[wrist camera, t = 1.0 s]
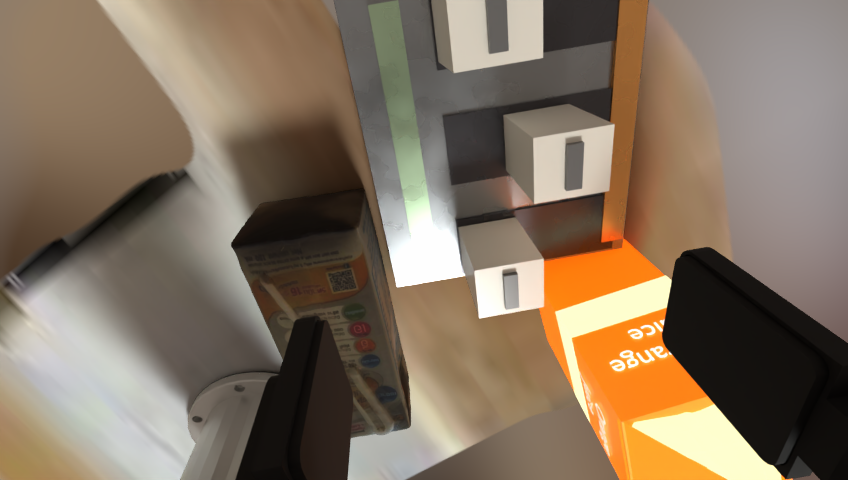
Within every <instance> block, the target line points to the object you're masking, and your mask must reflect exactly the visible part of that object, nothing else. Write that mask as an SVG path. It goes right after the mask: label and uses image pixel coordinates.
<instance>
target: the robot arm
mask: <svg viewBox="0 0 848 480" xmlns="http://www.w3.org/2000/svg"><path fill="white" fill-rule="evenodd" d="M662 340H663V343H664V345H665V347H666V348H667V350H668V351H669V352H670V353H671V354H672V355H673V357H674V358H675V359H676V360H677V361H678V362H679V364H680V365H681V366H682V367H683V368H684V369H685V371H686V372H687V373H688V374H689V375H690V376H691V378H692V379H693V380H694V381H695V382H696V383H697V385H698V386H699V387H700V388H701V389H702V390H703V392H704V393H705V394H706V395H707V396H708V397H709V399H710V400H711V401H712V402H713V403H714V404H715V406H716V407H717V408H718V409H719V410H720V411H721V413H722V414H723V415H724V416H725V417H726V418H727V420H728V421H729V422H730V423H731V424H732V425H733V427H734V428H735V429H736V430H737V431H738V432H739V434H740V435H741V436H742V437H743V438H744V439H745V441H746V442H747V443H748V444H749V445H750V446H751V448H752V449H753V450H754V451H755V452H756V453H757V455H758V456H759V457H760V458H761V459H762V460H763V461H764V462H765V463H767V464H769V465H773V466H774V467H775V468H776V469H777V471H778V472H779V473H780V474H781V475H782V476H783V477H784V479H785V480H788V479H793V478H798V477H804V476H810V475H811V473H812V471H813V472H814V473H815V475H816V476H817V477H818V478H819V479H820V480H848V343H847V342H845V341H844V340H842V339H841V338H840V337H838V336H837V335H835V334H834V333H832V332H831V331H830V330H828V329H827V328H825V327H824V326H822V325H821V324H820V323H818V322H817V321H815V320H814V319H813V318H811V317H810V316H808V315H807V314H805V313H804V312H803V311H801V310H800V309H798V308H797V307H795V306H794V305H792V304H791V303H790V302H788V301H787V300H785V299H784V298H782V297H781V296H779V295H778V294H777V293H775V292H774V291H773V290H771V289H769V288H768V287H767V286H765V285H764V284H763V283H761V282H760V281H758V280H757V279H755V278H754V277H753V276H751V275H750V274H748V273H747V272H745V271H744V270H742V269H741V268H740V267H738V266H737V265H735V264H734V263H733V262H731V261H730V260H728V259H727V258H725V257H724V256H723V255H721V254H720V253H718V252H717V251H715V250H714V249H712V248H710V247H704V248H699V249H693V250H687V251H684V252H683V253H682V254H681V256H680V258H677V260H676V262H675V266H674V271H673V277H672V282H671V287H670V293H669V298H668V304H667V309H666V314H665V320H664V325H663V331H662ZM352 413H353V393H352V389H351V386H350V383H349V380H348V377H347V374H346V371H345V369H344V366H343V363H342V360H341V357H340V354H339V351H338V348H337V345H336V343H335V340H334V337H333V334H332V331H331V328H330V325H329V323H328V321H327V320H322V321H321V319H320V317H319V316H312V317H306V318H301V319H296V320H295V322H294V325H293V328H292V332H291V335H290V338H289V342H288V345H287V349H286V352H285V356H284V359H283V362H282V366H281V369H280V373H279V374H273V373H265V372H250V373H243V374H236V375H232V376H229V377H225V378H222V379H220V380H218V381H216V382H214V383H212V384H211V385H209V386H208V387H207V388H205V389H204V390H203V391H202V392H201V393H200V394H199V396H198V397H197V398H196V400H195V402H194V404H193V406H192V408H191V410H190V412H189V415H188V429H189V432H190V435H191V437H192V439H193V440H194V442H195V443H196V444H195V447H194V449H193V451H192V454H191V456H190V458H189V460H188V463H187V465H186V467H185V469H184V472H183V474H182V476H181V479H180V480H347V477H348V465H349V452H350V439H351V426H352Z"/></svg>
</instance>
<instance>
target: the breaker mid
mask: <svg viewBox="0 0 848 480" xmlns="http://www.w3.org/2000/svg"><path fill="white" fill-rule="evenodd" d="M503 120H504V139H505V159H506V171H507V172H508V173H509V174H510V175H511V177H512V178H513V179H514V180H515V181H516V183H517V184H518V185H519V186H520V187H521V189H522V190H523V191H524V192H525V193H526V195H527V196H528V197H529V198H530V199H531V201H532V202H533V203H534V204H537V203H543V202H549V201H555V200H560V199H566V198H572V197H578V196H583V195H589V194H595V193H601V192H606V191H609V187H610V175H611V163H612V151H613V138H614V126H615V124H613V123H611V122H609V121H606V120H604V119H602V118H600V117H597V116H595V115H593V114H591V113H588V112H586V111H584V110H582V109H579V108H577V107H575V106H573V105H570V104H564V105H558V106H552V107H547V108H541V109H535V110H529V111H523V112H517V113H512V114H506V115H503Z"/></svg>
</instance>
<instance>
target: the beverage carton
mask: <svg viewBox="0 0 848 480" xmlns="http://www.w3.org/2000/svg"><path fill="white" fill-rule="evenodd" d="M231 247H232V248H233V250H234V251H235V253H236V255H237V258H238V260H239V264H240V267H241V269H242V271H243V273H244V275H245V278H246V280H247V282H248V284H249V286H250V288H251V291H252V293H253V295H254V297H255V300H256V302H257V304H258V306H259V308H260V311H261V313H262V315H263V317H264V320H265V322H266V324H267V326H268V328H269V330H270V332H271V335H272V337H273V339H274V341H275V343H276V346H277V348H278V350H279V352H280V355H281V357H282V359H284V356H285V352H286V349H287V345H288V342H289V338H290V335H291V332H292V328H293V325H294V322H295V320H296V319H301V318H306V317H312V316H319V317H320V319H321V321H322V320H327V321H328V323H329V325H330V328H331V331H332V334H333V337H334V340H335V343H336V345H337V348H338V351H339V354H340V357H341V360H342V363H343V366H344V369H345V371H346V374H347V377H348V380H349V383H350V386H351V389H352V393H353V413H352V426H351V438H353V437H359V436H367V435H373V434H377V435H385V434H388V433H390V432H392V431H398V430H403V429H407V428H410V426H411V404H410V389H409V376H408V372H407V367H406V362H405V359H404V356H403V352H402V347H401V343H400V338H399V333H398V329H397V325H396V321H395V316H394V311H393V306H392V302H391V297H390V292H389V287H388V283H387V279H386V274H385V270H384V265H383V261H382V257H381V253H380V248H379V244H378V240H377V236H376V232H375V228H374V224H373V221H372V217H371V213H370V208H369V206H368V203H367V200H366V196H365V190H364V189H356V190H349V191H343V192H338V193H332V194H325V195H318V196H311V197H301V198H296V199H290V200H281V201H276V202H267V203H262V204H260V205H259V206H258V208H257V209H256V210H255V211H254V212H253V214H252V215H251V217H250V218H248V220H247V222H246V223H245V225H244V226H243V227H242V228H241V230H240V231H239V233H238V234H237V236H236V237H235V239H234V240H233V242H232V243H231Z"/></svg>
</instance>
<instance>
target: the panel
mask: <svg viewBox="0 0 848 480" xmlns="http://www.w3.org/2000/svg"><path fill="white" fill-rule="evenodd" d="M648 2H649V0H543V58H540V59H534V60H528V61H523V62H517V63H511V64H505V65H499V66H493V67H487V68H481V69H476V70H470V71H464V72H458V73H453V72H451V71H450V70H449V69H447V68H446V67H445V66H443V65H442V64H440V63H439V62H438V54H437V46H436V37H435V29H434V21H433V12H432V4H431V0H334V4H335V9H336V13H337V18H338V22H339V27H340V31H341V36H342V41H343V45H344V50H345V54H346V59H347V63H348V68H349V72H350V77H351V81H352V86H353V90H354V95H355V99H356V104H357V108H358V113H359V118H360V122H361V127H362V131H363V136H364V140H365V145H366V149H367V154H368V158H369V163H370V167H371V172H372V176H373V181H374V186H375V190H376V195H377V199H378V204H379V208H380V213H381V217H382V222H383V226H384V231H385V235H386V240H387V244H388V249H389V253H390V258H391V263H392V267H393V272H394V276H395V281H396V285H397V287H402V286H408V285H414V284H420V283H425V282H431V281H437V280H442V279H448V278H454V277H459V276H465V274H464V270H463V264H462V255H461V247H460V238H459V230H458V227H462V226H468V225H474V224H480V223H485V222H491V221H497V220H503V219H508V218H514V217H516V218H517V220H518V221H519V223H520V224H521V226H522V227H523V229H524V230H525V232H526V233H527V235H528V236H529V238H530V239H531V240H532V242H533V243H534V245H535V246H536V248H537V249H538V251H539V252H540V254H541V255H542V257H543V258H544V262H545V261H551V260H556V259H562V258H568V257H574V256H579V255H585V254H591V253H596V252H602V251H608V250H614V249H619V248H622V246H623V236H624V227H625V218H626V208H627V199H628V190H629V180H630V171H631V161H632V152H633V143H634V133H635V124H636V115H637V105H638V96H639V87H640V77H641V68H642V59H643V49H644V40H645V31H646V21H647V12H648ZM564 104H570V105H573V106H575V107H577V108H579V109H582V110H584V111H586V112H588V113H591V114H593V115H595V116H597V117H600V118H602V119H604V120H606V121H609V122H611V123H613V124H615V126H614V138H613V151H612V163H611V175H610V187H609V191H606V192H601V193H595V194H589V195H583V196H578V197H572V198H566V199H560V200H555V201H549V202H543V203H537V204H534V203H533V202H532V201H531V199H530V198H529V197H528V196H527V195H526V193H525V192H524V191H523V190H522V189H521V187H520V186H519V185H518V184H517V183H516V181H515V180H514V179H513V178H512V177H511V175H510V174H509V173H508V172H507V171H506V159H505V139H504V120H503V115H506V114H512V113H517V112H523V111H529V110H535V109H541V108H547V107H552V106H558V105H564Z"/></svg>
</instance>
